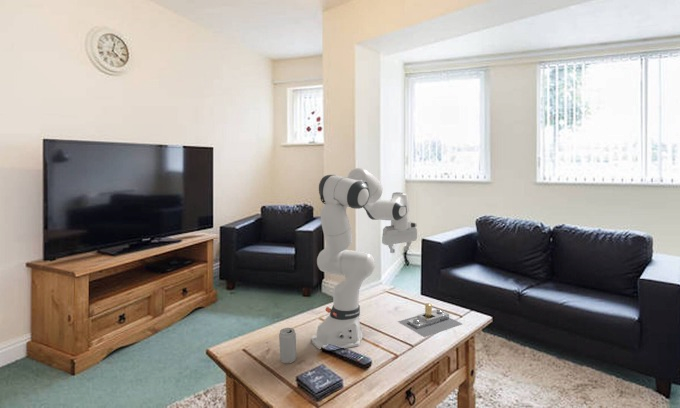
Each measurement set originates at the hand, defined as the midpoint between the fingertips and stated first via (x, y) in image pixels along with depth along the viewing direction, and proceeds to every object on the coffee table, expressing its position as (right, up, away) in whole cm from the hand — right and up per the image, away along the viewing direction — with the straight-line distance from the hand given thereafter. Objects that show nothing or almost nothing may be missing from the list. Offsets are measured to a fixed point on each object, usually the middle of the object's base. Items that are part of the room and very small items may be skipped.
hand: (399, 251), depth 182 cm
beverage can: (-51, -37, -42) cm, 75 cm away
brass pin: (+12, -32, -10) cm, 35 cm away
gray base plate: (+12, -33, -13) cm, 37 cm away
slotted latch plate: (+12, -32, -10) cm, 36 cm away
